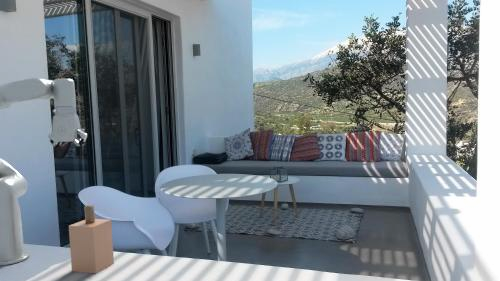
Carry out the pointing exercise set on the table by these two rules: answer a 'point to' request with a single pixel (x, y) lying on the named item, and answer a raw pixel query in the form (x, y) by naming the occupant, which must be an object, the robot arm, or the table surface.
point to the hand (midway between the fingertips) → (69, 156)
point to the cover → (91, 243)
